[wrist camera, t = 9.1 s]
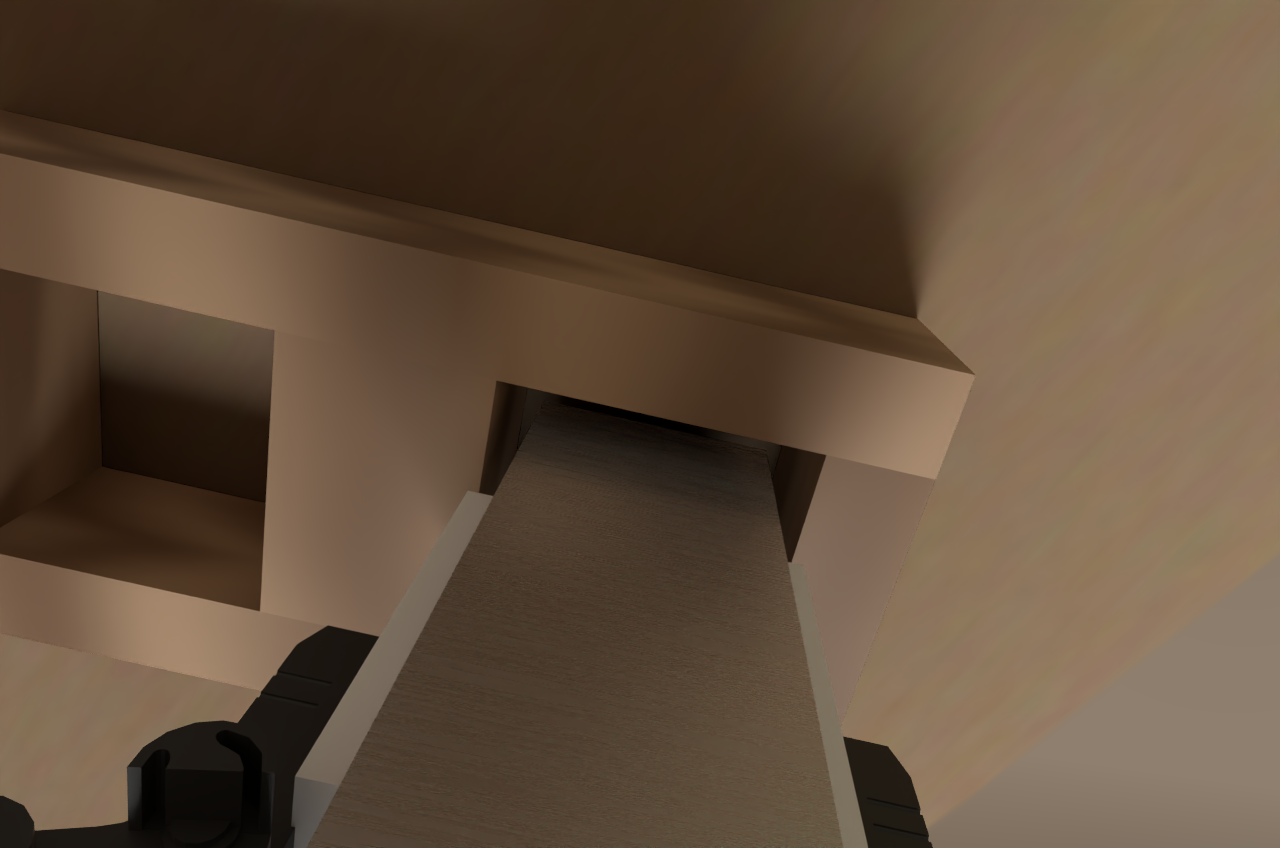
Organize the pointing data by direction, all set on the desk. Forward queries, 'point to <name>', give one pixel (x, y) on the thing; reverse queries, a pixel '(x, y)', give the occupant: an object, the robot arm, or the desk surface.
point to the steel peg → (604, 664)
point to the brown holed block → (400, 400)
